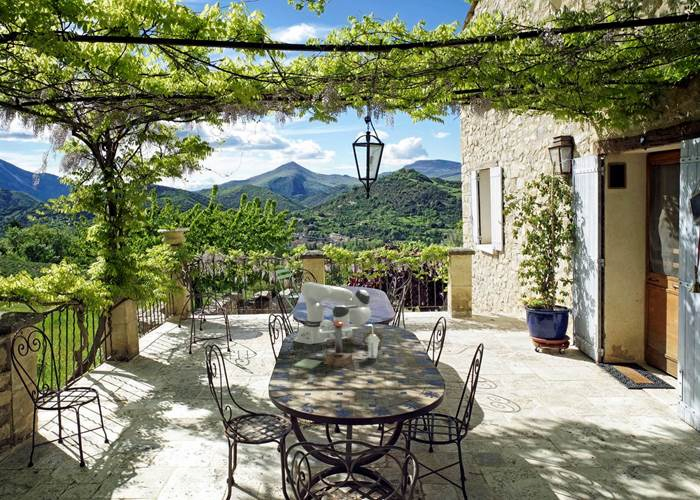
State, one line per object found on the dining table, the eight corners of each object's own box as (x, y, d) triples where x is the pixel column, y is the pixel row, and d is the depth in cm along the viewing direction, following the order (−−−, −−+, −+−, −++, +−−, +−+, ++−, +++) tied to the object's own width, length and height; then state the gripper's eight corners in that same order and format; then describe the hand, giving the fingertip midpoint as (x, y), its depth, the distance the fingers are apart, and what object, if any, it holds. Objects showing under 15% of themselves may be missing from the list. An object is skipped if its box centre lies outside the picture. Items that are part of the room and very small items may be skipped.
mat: (293, 366, 300) (293, 364, 300) (304, 360, 310) (304, 358, 310) (311, 368, 294) (311, 367, 294) (322, 362, 305) (322, 361, 305)
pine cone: (383, 343, 341) (383, 328, 340) (384, 347, 331) (384, 332, 330) (349, 344, 341) (349, 329, 340) (349, 348, 332) (348, 333, 331)
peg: (331, 353, 301) (330, 323, 299) (336, 350, 307) (335, 320, 305) (341, 354, 298) (340, 324, 297) (346, 351, 304) (345, 321, 302)
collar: (324, 364, 301) (324, 357, 301) (334, 358, 312) (334, 352, 311) (343, 367, 296) (342, 360, 295) (352, 360, 306) (352, 354, 306)
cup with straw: (376, 360, 307) (375, 326, 305) (362, 358, 311) (361, 324, 309) (382, 356, 314) (381, 323, 312) (369, 354, 319) (368, 321, 317)
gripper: (348, 334, 317) (356, 339, 304) (315, 337, 311) (322, 343, 298) (348, 324, 317) (356, 329, 304) (315, 327, 310) (321, 332, 297)
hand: (338, 336), depth 301 cm, fingers closed on peg, 4 cm apart
